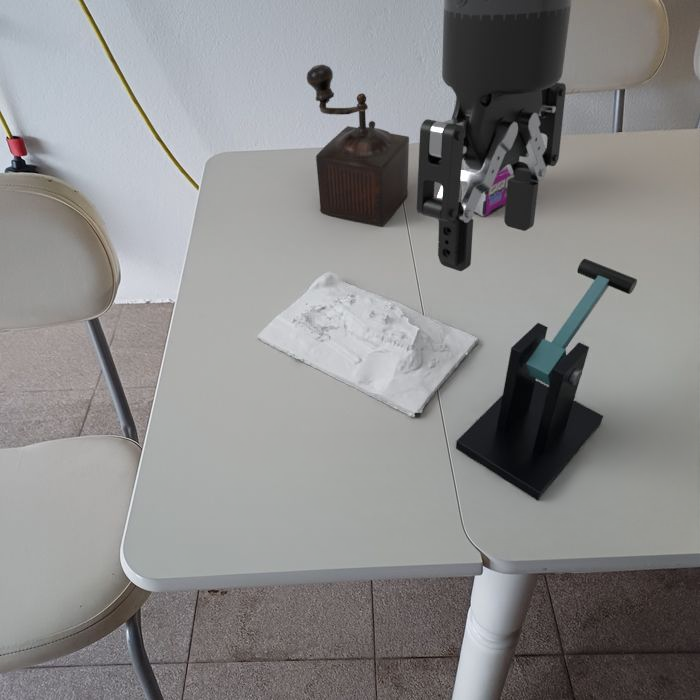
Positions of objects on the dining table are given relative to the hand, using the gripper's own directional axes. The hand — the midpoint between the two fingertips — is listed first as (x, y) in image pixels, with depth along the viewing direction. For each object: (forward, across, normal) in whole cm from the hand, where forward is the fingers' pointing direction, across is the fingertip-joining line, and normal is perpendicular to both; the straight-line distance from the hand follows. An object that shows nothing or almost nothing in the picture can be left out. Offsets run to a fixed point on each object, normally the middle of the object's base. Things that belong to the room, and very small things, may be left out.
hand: (488, 245), depth 48 cm
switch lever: (+11, +10, -3) cm, 16 cm away
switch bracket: (+22, +7, -2) cm, 23 cm away
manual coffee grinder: (+15, +29, +42) cm, 53 cm away
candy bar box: (+16, +43, +26) cm, 52 cm away
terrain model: (+20, +7, +19) cm, 29 cm away
